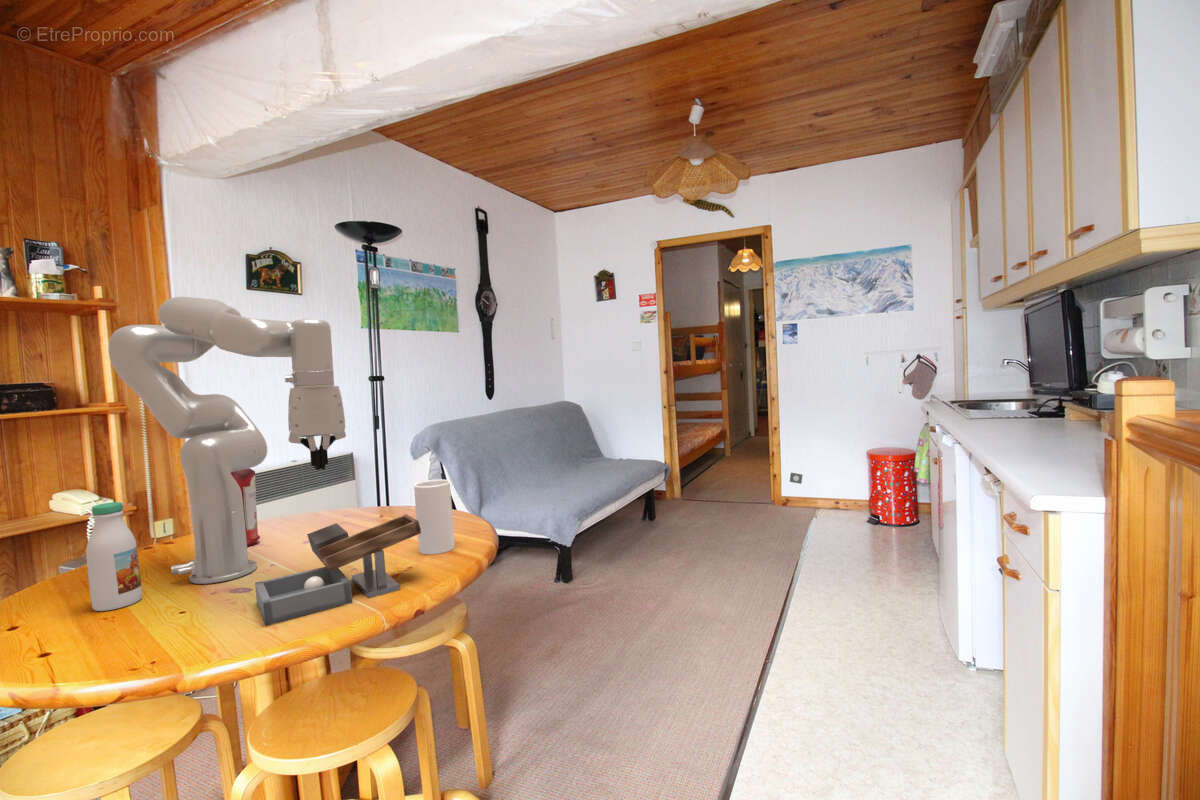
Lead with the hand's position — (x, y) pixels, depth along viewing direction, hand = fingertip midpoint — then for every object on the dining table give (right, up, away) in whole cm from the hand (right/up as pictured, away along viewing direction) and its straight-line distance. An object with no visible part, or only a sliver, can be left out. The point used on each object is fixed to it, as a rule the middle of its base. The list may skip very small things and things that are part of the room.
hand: (319, 468), depth 121 cm
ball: (+4, -21, -10) cm, 24 cm away
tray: (+2, -24, -11) cm, 27 cm away
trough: (+9, -15, 0) cm, 18 cm away
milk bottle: (-37, -26, -6) cm, 46 cm away
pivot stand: (+13, -23, -3) cm, 27 cm away
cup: (+19, -22, +19) cm, 34 cm away
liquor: (-35, -24, +32) cm, 53 cm away
